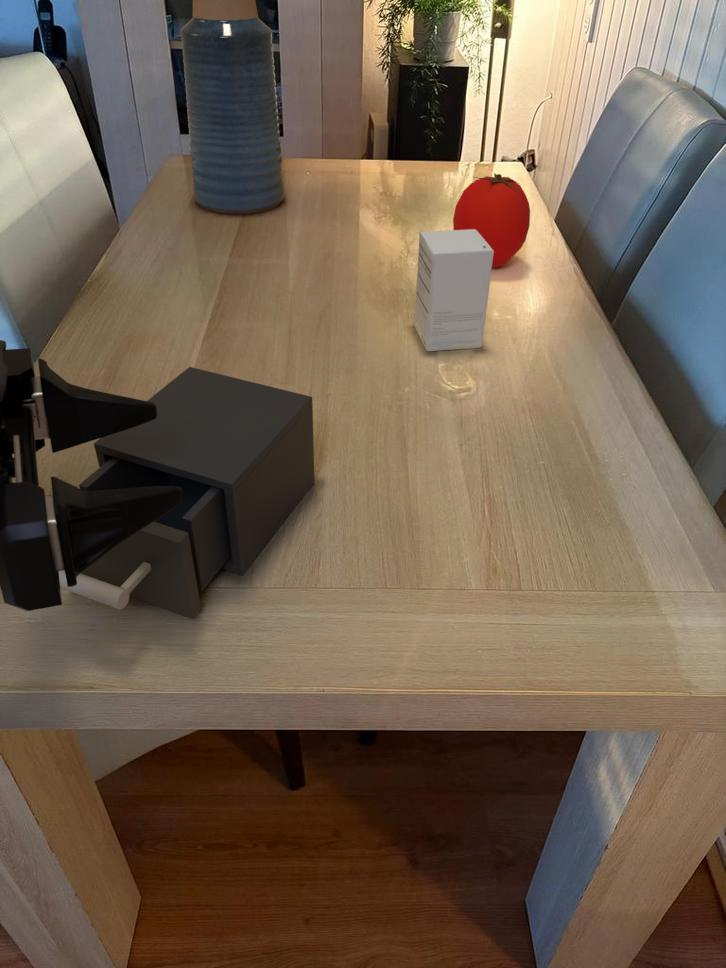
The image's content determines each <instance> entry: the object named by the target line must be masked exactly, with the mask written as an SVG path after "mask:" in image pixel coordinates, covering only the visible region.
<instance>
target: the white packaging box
mask: <svg viewBox="0 0 726 968" xmlns="http://www.w3.org/2000/svg"><path fill="white" fill-rule="evenodd" d="M417 253H418V254H417V269H416V270H417V271H416V272H417V273H416V284H415V285H416V286H415V287H416V288H415V301H414V302H415V303H414V315H413V326H414V328H415V330H416V333H417V334H418V337H419V339H420V341H421V343H422V346H423V347H424V348H425V350H426V352H438V351H450V350H451V351H452V350H465V349H466V350H467V349H479V348H482V347H483V339H484V331H485V325H486V316H487V309H488V308H487V307H488V301H489V293H490V284H491V277H492V269H493V267H492V262H493V255H494V251H493V250H492V248H491V247H490V246H489V244H488V243H487V242H486V241H485V240H484V239H483V237H482V236H481V235H480V234H479V233H478V231H477V230H476V229H468V230H454V229H453V230H452V229H451V230H449V229H448V230H431V231H429V230H428V231H419V238H418V252H417Z"/></svg>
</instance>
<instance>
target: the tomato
mask: <svg viewBox="0 0 726 968" xmlns="http://www.w3.org/2000/svg"><path fill="white" fill-rule="evenodd" d="M493 175H494V176H484V177H476V176H473V178H475V179H476V180H474V181H473V182H471V183H470V184H469V185H468V186H467V187H465V189H463V191H462V193H461V195H460V197H459V199H458V201H457V203H456V205H455V208H454V211H453V217H452V225H453V226H452V227H453V228H452V229H453V230H468V229H476V230H477V231H478V233H479V234H480V235H481V236H482V237H483V239H484V240H485V241H486V242H487V243H488V244H489V246H490V247H491V248H492V250H493V251H494V255H493V262H492V268H497V267H501V266H504V265H505V264H507V263H508V262H509V261H510V260H511V259H512V258H513V257H515V255H516V254H517V253H518V252H520V250H521V249H522V248H523V246H524V244H525V243H526V240H527V237H528V233H529V229H530V223H531V222H530V221H531V208H530V207H531V206H530V202H529V200H528V197H527V195H526V193H525V191H524V189H523V187H522V186H521V184H520V183H519V182H517V181H516V180H515V179H512V178H511V177H509V176H502V174H501V173H497V174H496V173H495V172H494V173H493Z"/></svg>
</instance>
